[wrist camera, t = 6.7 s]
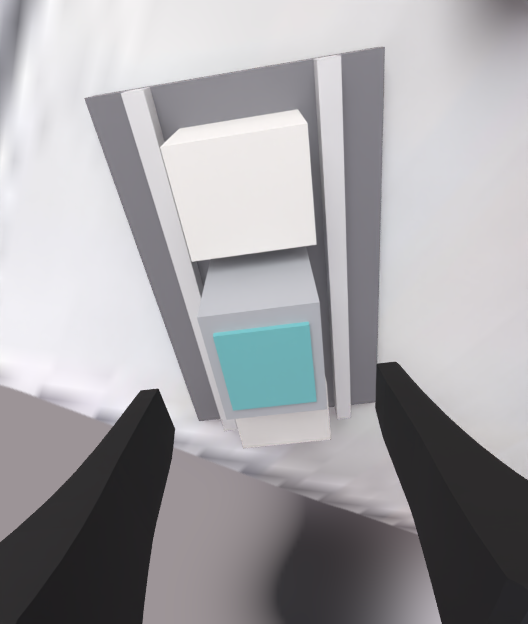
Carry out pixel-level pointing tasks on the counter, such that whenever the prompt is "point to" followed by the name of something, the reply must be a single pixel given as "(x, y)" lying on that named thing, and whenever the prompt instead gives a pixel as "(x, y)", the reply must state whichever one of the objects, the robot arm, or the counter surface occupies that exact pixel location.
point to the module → (264, 333)
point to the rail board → (355, 198)
